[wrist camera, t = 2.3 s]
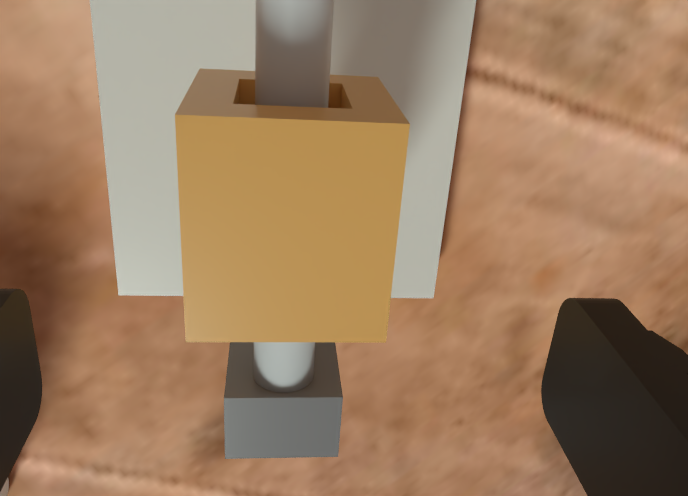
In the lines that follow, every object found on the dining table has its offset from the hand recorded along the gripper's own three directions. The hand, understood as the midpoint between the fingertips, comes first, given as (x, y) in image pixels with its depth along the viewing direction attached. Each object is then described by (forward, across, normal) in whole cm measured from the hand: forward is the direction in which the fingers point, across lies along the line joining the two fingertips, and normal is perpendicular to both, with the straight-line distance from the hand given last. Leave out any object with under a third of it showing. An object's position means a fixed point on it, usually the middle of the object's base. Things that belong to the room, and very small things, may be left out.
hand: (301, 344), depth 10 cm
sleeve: (+8, 0, 0) cm, 8 cm away
